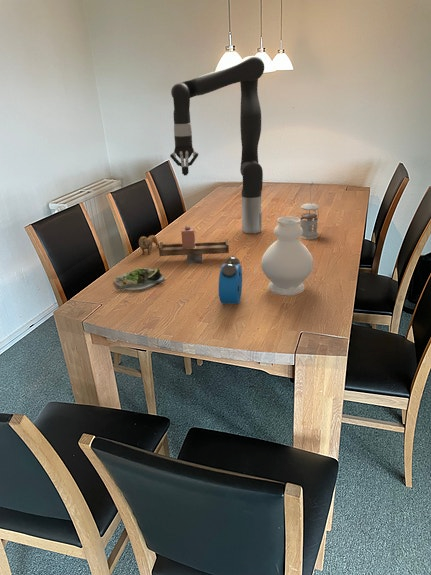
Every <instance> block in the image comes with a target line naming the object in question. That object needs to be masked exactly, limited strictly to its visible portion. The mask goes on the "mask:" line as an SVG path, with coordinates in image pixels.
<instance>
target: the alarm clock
mask: <svg viewBox="0 0 431 575" xmlns="http://www.w3.org/2000/svg"><path fill="white" fill-rule="evenodd" d="M242 290H243V269H242V265H241V261H240V259H239V258H238V257H236V256H233V255H232V256H229V257H227V258H226V259H225V261H224V263H222V265H221V267H220V270H219V274H218V299H219V302H220V304H222V307H225V304H229V305H239V304H240V301H241V298H242Z"/></svg>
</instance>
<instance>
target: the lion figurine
mask: <svg viewBox="0 0 431 575" xmlns="http://www.w3.org/2000/svg"><path fill="white" fill-rule="evenodd" d="M153 243H154V244H155V246H156V249H157V250H159V245H160V242H159V241H158V239H157V236H156V235H154V234H152V235H149V236H148V237H147V236H140V238H139V239H138V246H139V248H140V250H141V251H142V252H141V255H142V256H143V255H146V254H147V256H151V250H152V248H153V247H154V246H153ZM145 250H147V253H146V254H145V252H146V251H145Z"/></svg>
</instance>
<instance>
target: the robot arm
mask: <svg viewBox="0 0 431 575" xmlns="http://www.w3.org/2000/svg"><path fill="white" fill-rule="evenodd" d="M264 72H265V64H264V61H263V60H262V59H261V58H260V57H259V56H256V55H249V56H246V57H244V58H243V59H242V60H241V61H240V62H239V63H237V64H235V65H232V66H230V67H227V68H225V69H224V68H223V69H219V70H215V71H212V72H209V73H205V74H202V75H200V76H197V77H195V78H193V79H190V80H189V79H188V80H186V81H185V80H184V81H181V82H178V83H175V84H174V85H173V86H172V88H171V90H170V91H171V92H170V93H171V94H170V95H171V98H173V99H172V100H173V138H174V151H173V152H172V153H170V155H169V157H170V158H171V160H173V162H175V164H176V165H177V166H179V167H181V174H182V175H183V176H188V175H189V173H190V172H189V171H190V170H189V166H192V165H193V164H194V163H195V161H196V159H197V158H198V157H199V152H197V151H195V149H194V147H193V132H192V123H191V112H190V107H191V106H190V104H191V99H192V98H194V97H198V96H203V95H206V94H209V93H212V92H214V91H217V90H220V89H222V88H225V87H227V86H230V85H233V84H237V83H240V84H239V85H240V120H239V121H240V122H239V123H240V141H241V160H240V170H239V171H240V174H241V176H242V189H241V231H242V232H243V233H245V234H257V233H262V227H263V224H262V223H263V222H262V221H263V220H262V218H263V216H262V190H263V183H264V182H263V181H264V180H263V178H264V177H263V176H264V173H263V168H262V166H261V164H260V163H259V154H258V150H259V142H260V137H261V134H262V110H261V104H260V100H259V95H258V85H259V79H260V78H261V77H262V76H263V74H264ZM191 156H192V158H191ZM177 157H178V158H179V160H180V161H179V160H178V158H177ZM190 158H191V160H190V161H189V159H190Z"/></svg>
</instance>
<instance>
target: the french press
mask: <svg viewBox="0 0 431 575" xmlns="http://www.w3.org/2000/svg"><path fill="white" fill-rule="evenodd" d="M308 185H309V186H313V185H314V182H313V181H309V183H308ZM311 195H312V189H310V192H309V200H312V199H311ZM300 208H301V209H302V210H305V211H308V213H307V212H306V213H302V214H301V215H300V216H301V217H300V223H299V226H300V227H301V228H302V230H303V233H302V235H301V236H300V238H301V239H302V238H303V239H305V240H315V239H317V237H318V238H319V234H318V219H319V217H318V216H319V208H320V206H319V205H318V204H317V203H315V202H314V203H311V202H307V203H303V204H302V205H301V206H300ZM311 211H312V212H314V213H310V212H311ZM316 211H317V214H316ZM300 238H299V239H300ZM314 238H315V239H314Z"/></svg>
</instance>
